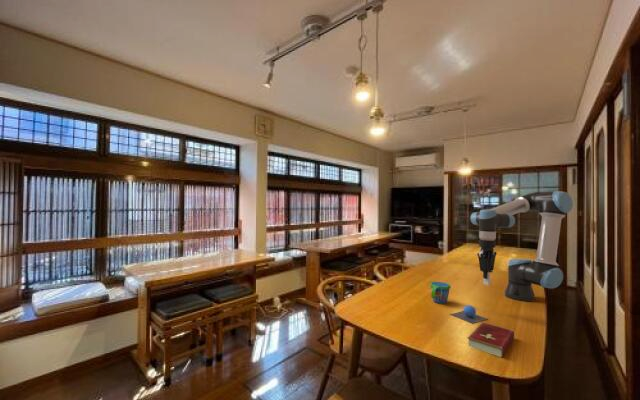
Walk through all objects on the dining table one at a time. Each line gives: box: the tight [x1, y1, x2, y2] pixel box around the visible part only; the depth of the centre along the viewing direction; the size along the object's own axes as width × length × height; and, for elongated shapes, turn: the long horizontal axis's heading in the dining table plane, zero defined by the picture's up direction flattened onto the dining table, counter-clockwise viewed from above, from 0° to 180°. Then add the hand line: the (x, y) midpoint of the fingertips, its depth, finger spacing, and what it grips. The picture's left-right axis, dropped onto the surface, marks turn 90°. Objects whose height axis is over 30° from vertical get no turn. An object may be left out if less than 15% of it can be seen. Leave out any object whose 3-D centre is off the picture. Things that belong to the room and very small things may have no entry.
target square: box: [449, 310, 489, 325], centre depth 142 cm, size 12×12×1 cm
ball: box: [463, 304, 477, 317], centre depth 142 cm, size 6×6×6 cm
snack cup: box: [429, 281, 451, 305], centre depth 163 cm, size 16×10×10 cm
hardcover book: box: [467, 321, 515, 359], centre depth 116 cm, size 12×21×4 cm, turn 136°
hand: (486, 284), depth 148 cm, fingers closed
